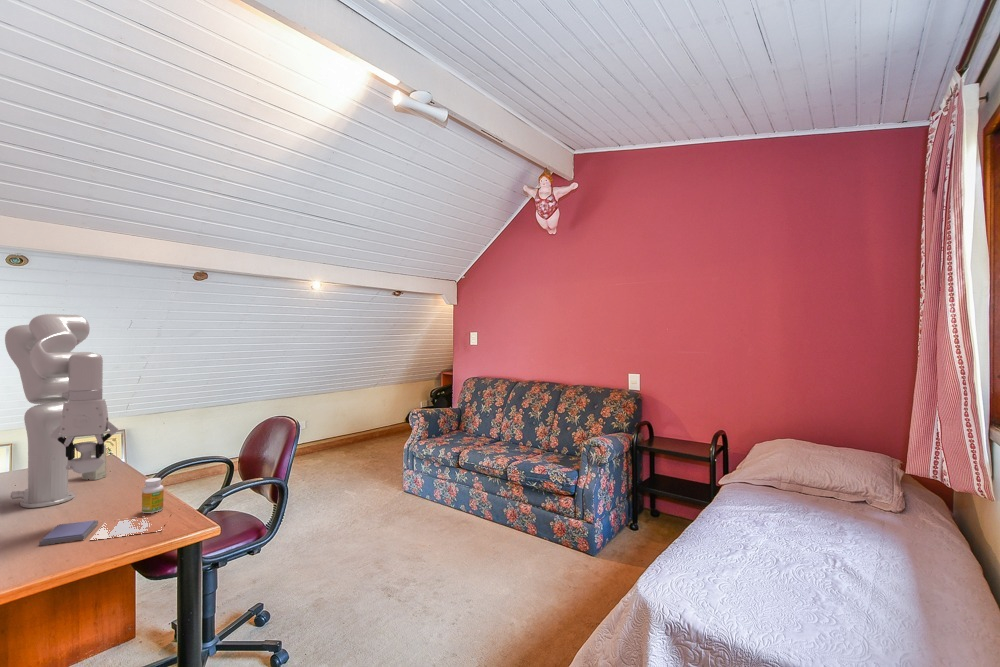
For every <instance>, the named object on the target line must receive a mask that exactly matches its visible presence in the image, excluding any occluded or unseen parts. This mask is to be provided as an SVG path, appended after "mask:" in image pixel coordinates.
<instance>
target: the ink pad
mask: <svg viewBox="0 0 1000 667" xmlns="http://www.w3.org/2000/svg"><path fill="white" fill-rule="evenodd" d="M97 524H98V525H99V520H96V519H95V520H88V521H87V520H84V521H78V522H69V523H62V524H58V525H56V526H55V527H54V528H52V530H51V531H49V532H48V533H47V534H46V535H45V536H43V538H41V539H40V540H39V547H42V546H41V545H44V546H49V545H48V544H51V545H56V544H55V543H59V544H62V543H61V542H66V543H69V542H68V541H74V542H76V541H75V540H81V541H84V540H86V538H88V536H89V535H90V534H91V533H92V532H93V531H94V530H95V528H96V527H97V526H98V525H97ZM93 529H94V530H93ZM92 530H93V531H92ZM91 531H92V532H91ZM90 532H91V533H90ZM89 533H90V534H89ZM88 534H89V535H88ZM83 539H84V540H83Z"/></svg>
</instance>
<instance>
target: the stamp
mask: <svg viewBox="0 0 1000 667" xmlns="http://www.w3.org/2000/svg"><path fill="white" fill-rule="evenodd" d="M73 444H74V447H75V452H76V451H77V452H79V453H80V455H79V456H80V457H75V458H73V459H72V460H68V462H67V466H66V469H67V470H68V471H71V470H72V471H73V472H74V473H76V474H81V475H82V473H88V472H93V471H96V470H98V469H99V468H100V467H101V466H102V464H103V463H104V462H105V460H104V459H102V458H100V457H99V458H96V456H95V455H92V456H91V452H92V451H94V450H96V444H97V442H95V441H89V440H88V441H84V442H83V441H82V442H77V443H73Z"/></svg>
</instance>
